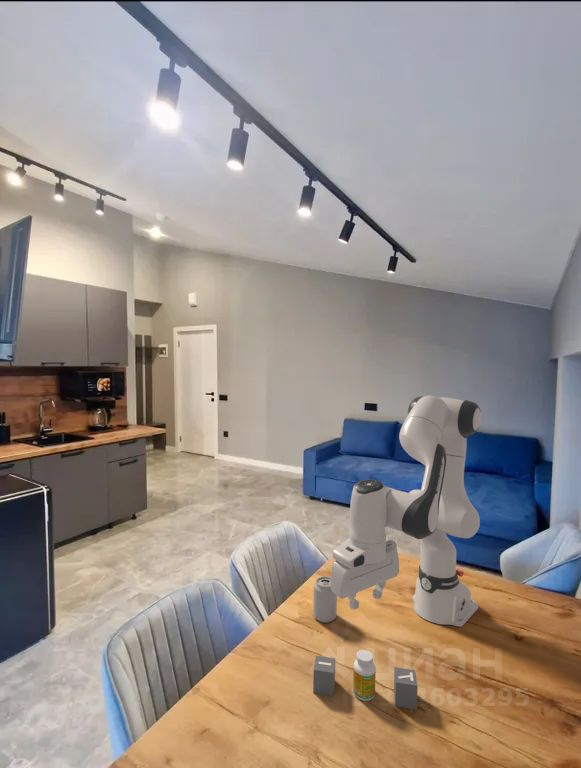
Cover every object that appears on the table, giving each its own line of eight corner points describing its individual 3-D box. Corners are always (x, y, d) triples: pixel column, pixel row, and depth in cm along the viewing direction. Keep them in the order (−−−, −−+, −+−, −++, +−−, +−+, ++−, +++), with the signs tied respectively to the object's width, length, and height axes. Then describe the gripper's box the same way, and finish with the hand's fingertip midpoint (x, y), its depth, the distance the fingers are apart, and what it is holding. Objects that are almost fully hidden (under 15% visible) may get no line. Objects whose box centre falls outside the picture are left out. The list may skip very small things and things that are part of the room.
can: (336, 610, 135) (336, 575, 135) (336, 625, 128) (337, 588, 127) (313, 609, 136) (314, 574, 135) (312, 623, 129) (313, 586, 128)
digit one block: (315, 677, 107) (316, 655, 106) (334, 680, 106) (335, 657, 105) (313, 692, 102) (313, 669, 101) (333, 696, 101) (333, 672, 100)
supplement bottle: (361, 705, 98) (362, 666, 98) (348, 688, 103) (349, 651, 102) (379, 696, 101) (380, 658, 100) (365, 681, 105) (366, 645, 105)
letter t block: (393, 690, 103) (394, 666, 103) (414, 693, 102) (415, 669, 102) (395, 706, 98) (395, 681, 98) (416, 709, 97) (417, 685, 97)
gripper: (387, 533, 108) (385, 584, 109) (327, 553, 97) (326, 609, 98) (406, 542, 103) (404, 595, 104) (345, 564, 92) (343, 623, 92)
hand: (365, 602), depth 101 cm, fingers open, 6 cm apart
